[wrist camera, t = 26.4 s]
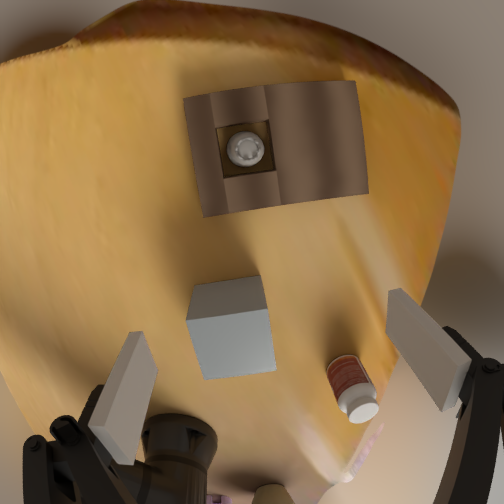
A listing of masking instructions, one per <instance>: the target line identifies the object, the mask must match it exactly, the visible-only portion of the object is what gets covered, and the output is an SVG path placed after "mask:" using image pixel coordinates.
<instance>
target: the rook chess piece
mask: <svg viewBox="0 0 504 504" xmlns="http://www.w3.org/2000/svg"><path fill="white" fill-rule="evenodd" d="M226 152H227V155H228V158H229V159H230V160H231V161H232V163H233V164H235V165H237V166H239V167H250V166H253V165H255V164H256V163H258V162H259V161H260V160H261V158H262V156H263V154H264V145H263V142H262V140H261V139H260V138H259V137H258V136H257V135H256V134H254V133H252V132H250V131H241V132H238V133H236V134H234V135H233V136H232V137H231V138H230V139H229V141H228V143H227V150H226Z"/></svg>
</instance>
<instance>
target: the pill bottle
mask: <svg viewBox="0 0 504 504" xmlns="http://www.w3.org/2000/svg"><path fill="white" fill-rule="evenodd" d="M327 378H328V380H329V383H330V385H331V388H332V390H333V393H334V395H335V398H336V401H337V403H338V406H339V408H340V409H341V411H343V412H344V413H347V416H348V418H349V420H350V421H351V422H352V423H362V422H365V421H368V420H369V419H371V418H372V417H374V416H375V414H376V413H377V412H378V409H379V406H378V404H377V401H376V400H375V399H376V395H377V392H376V389H375V387H374V385H373V383H372V381H371V379H370V378H369V376H368V374H367V372H366V370H365V368H364V367H363V365H362V363H361V361H360V360H359V358H358V357H356V356H354V355H343V356H340V357H338V358H336V359H334V360H333V361H332V362H331V363H330V365H329V366H328V368H327Z"/></svg>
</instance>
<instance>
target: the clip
mask: <svg viewBox="0 0 504 504" xmlns="http://www.w3.org/2000/svg"><path fill="white" fill-rule="evenodd" d="M206 504H232V499H231V498H229V497H227V496H221V503H212V495H207V500H206Z"/></svg>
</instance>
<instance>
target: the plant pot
mask: <svg viewBox="0 0 504 504" xmlns="http://www.w3.org/2000/svg"><path fill="white" fill-rule="evenodd" d="M252 504H295V503H294V501H293V500H292V498H291V496H290V495H289V493H288V492H287V490H286V489H285V488H284V486H282V485H278V484H270V485H264V486H261V487H259V488H258V489H257V490H256V493H255V495H254V498H253V501H252Z"/></svg>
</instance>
